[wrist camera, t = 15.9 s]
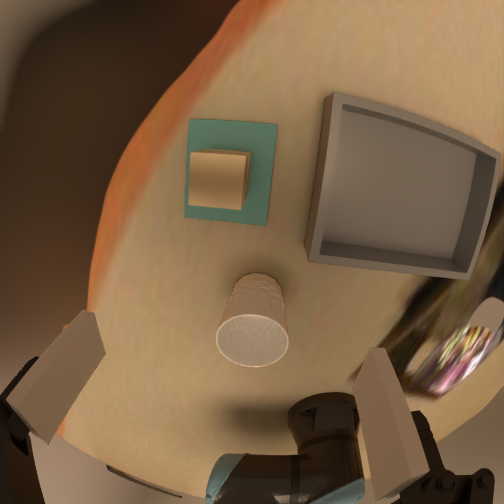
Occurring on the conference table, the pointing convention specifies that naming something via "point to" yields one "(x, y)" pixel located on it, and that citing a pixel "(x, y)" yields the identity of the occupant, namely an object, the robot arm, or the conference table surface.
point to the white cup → (254, 323)
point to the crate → (398, 192)
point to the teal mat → (262, 147)
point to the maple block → (219, 178)
